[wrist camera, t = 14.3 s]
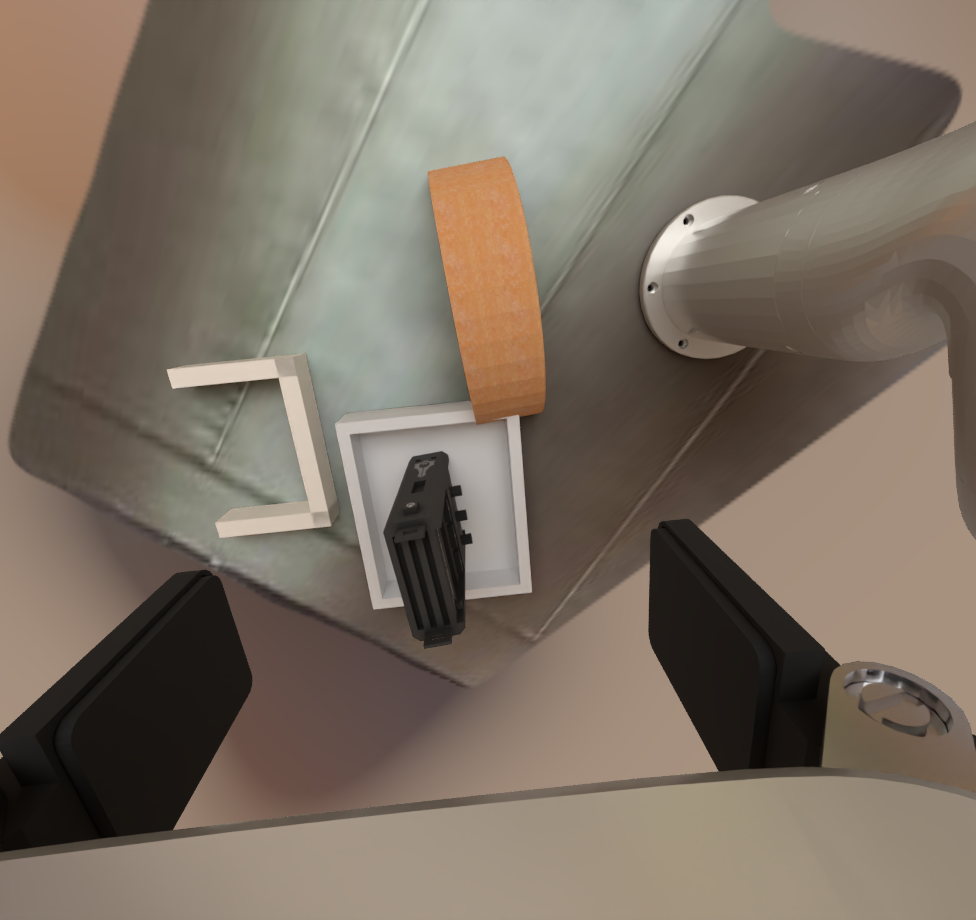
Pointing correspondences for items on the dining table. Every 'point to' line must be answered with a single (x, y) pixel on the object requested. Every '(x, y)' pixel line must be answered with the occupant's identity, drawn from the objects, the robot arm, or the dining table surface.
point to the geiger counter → (429, 549)
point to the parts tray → (472, 464)
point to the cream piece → (305, 436)
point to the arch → (491, 287)
